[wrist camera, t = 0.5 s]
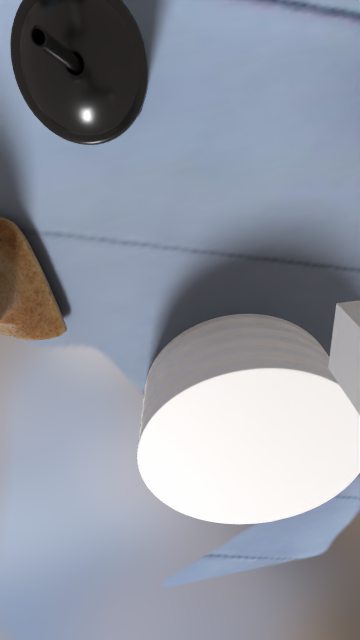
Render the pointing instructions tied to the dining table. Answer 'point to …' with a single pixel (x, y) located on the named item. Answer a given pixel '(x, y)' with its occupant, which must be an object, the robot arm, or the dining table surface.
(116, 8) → the drinking cup
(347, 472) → the plate stack
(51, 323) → the brown suede boots
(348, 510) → the dining table surface
